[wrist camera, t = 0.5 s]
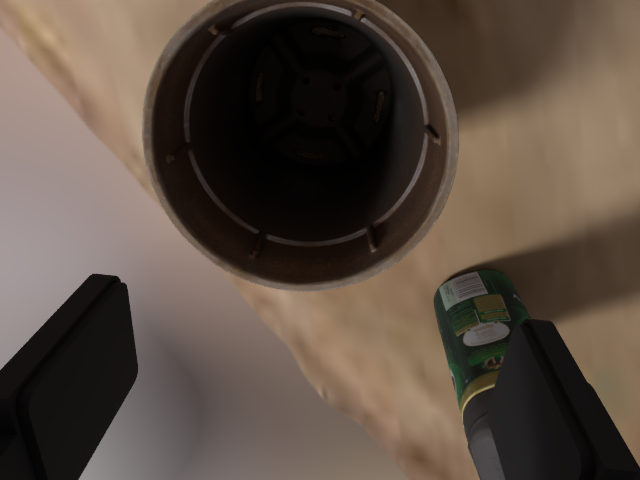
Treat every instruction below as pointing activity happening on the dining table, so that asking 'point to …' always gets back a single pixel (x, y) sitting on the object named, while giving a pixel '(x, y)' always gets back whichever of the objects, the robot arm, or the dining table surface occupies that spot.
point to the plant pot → (300, 140)
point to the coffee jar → (478, 351)
